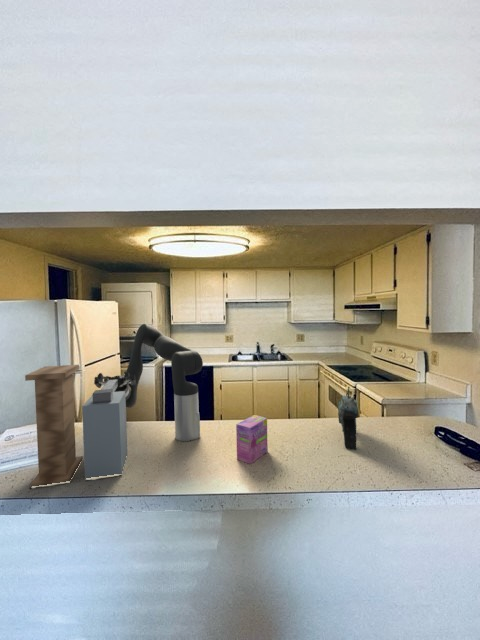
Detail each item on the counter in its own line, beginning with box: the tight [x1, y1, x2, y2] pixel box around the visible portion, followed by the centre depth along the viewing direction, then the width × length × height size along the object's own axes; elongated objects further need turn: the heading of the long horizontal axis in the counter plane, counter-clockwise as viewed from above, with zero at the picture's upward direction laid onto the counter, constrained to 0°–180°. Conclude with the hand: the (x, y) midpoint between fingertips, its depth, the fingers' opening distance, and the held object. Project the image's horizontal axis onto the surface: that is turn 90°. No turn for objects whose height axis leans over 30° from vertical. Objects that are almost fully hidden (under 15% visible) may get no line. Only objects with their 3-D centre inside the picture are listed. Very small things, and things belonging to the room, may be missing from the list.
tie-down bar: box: [92, 379, 118, 404], centre depth 100 cm, size 20×5×3 cm, turn 14°
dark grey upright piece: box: [337, 386, 359, 450], centre depth 111 cm, size 20×6×20 cm, turn 165°
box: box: [235, 414, 268, 465], centre depth 101 cm, size 10×6×12 cm, turn 143°
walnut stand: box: [24, 364, 84, 488], centre depth 92 cm, size 10×14×32 cm
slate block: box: [81, 391, 128, 480], centre depth 95 cm, size 10×14×22 cm
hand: (112, 374), depth 109 cm, fingers open, 8 cm apart
